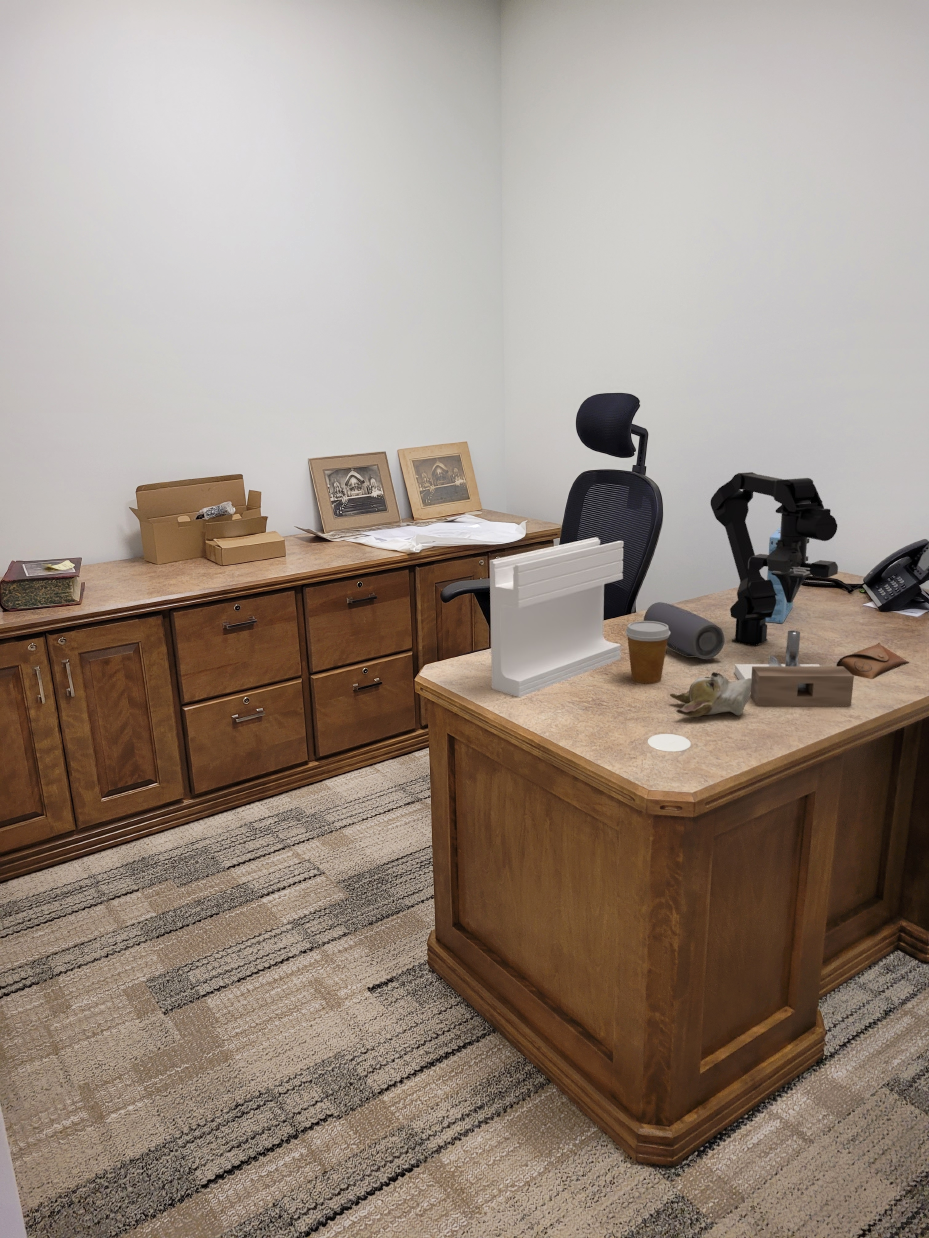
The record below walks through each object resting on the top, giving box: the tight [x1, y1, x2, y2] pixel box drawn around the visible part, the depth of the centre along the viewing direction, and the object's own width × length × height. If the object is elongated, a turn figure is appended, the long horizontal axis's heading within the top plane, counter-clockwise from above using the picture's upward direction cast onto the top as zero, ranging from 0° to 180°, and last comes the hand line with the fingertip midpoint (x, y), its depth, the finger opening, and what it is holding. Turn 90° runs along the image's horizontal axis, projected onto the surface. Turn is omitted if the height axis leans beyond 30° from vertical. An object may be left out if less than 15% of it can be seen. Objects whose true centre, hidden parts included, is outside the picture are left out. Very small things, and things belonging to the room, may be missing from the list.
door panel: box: [733, 654, 821, 680], centre depth 186 cm, size 11×18×5 cm, turn 86°
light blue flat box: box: [766, 526, 794, 624], centre depth 236 cm, size 20×5×23 cm, turn 152°
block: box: [489, 537, 624, 698], centre depth 192 cm, size 35×8×28 cm, turn 134°
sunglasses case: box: [836, 642, 910, 680], centre depth 195 cm, size 18×7×7 cm
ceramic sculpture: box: [669, 672, 752, 718], centre depth 169 cm, size 11×9×15 cm
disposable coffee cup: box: [625, 620, 670, 684], centre depth 189 cm, size 10×10×12 cm
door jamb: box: [750, 665, 855, 707], centre depth 175 cm, size 6×18×6 cm, turn 86°
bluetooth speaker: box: [643, 601, 726, 660], centre depth 208 cm, size 23×9×10 cm, turn 18°
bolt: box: [784, 630, 806, 690], centre depth 177 cm, size 8×2×10 cm, turn 176°
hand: (789, 602), depth 199 cm, fingers closed
